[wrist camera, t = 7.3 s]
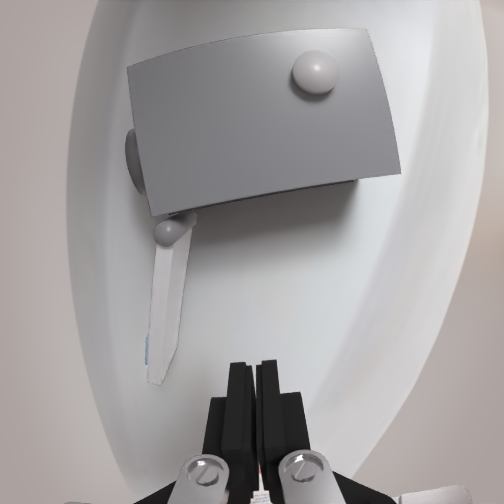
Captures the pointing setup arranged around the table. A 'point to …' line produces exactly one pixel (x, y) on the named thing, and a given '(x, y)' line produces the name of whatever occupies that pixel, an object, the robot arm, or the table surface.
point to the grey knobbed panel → (258, 118)
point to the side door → (167, 291)
